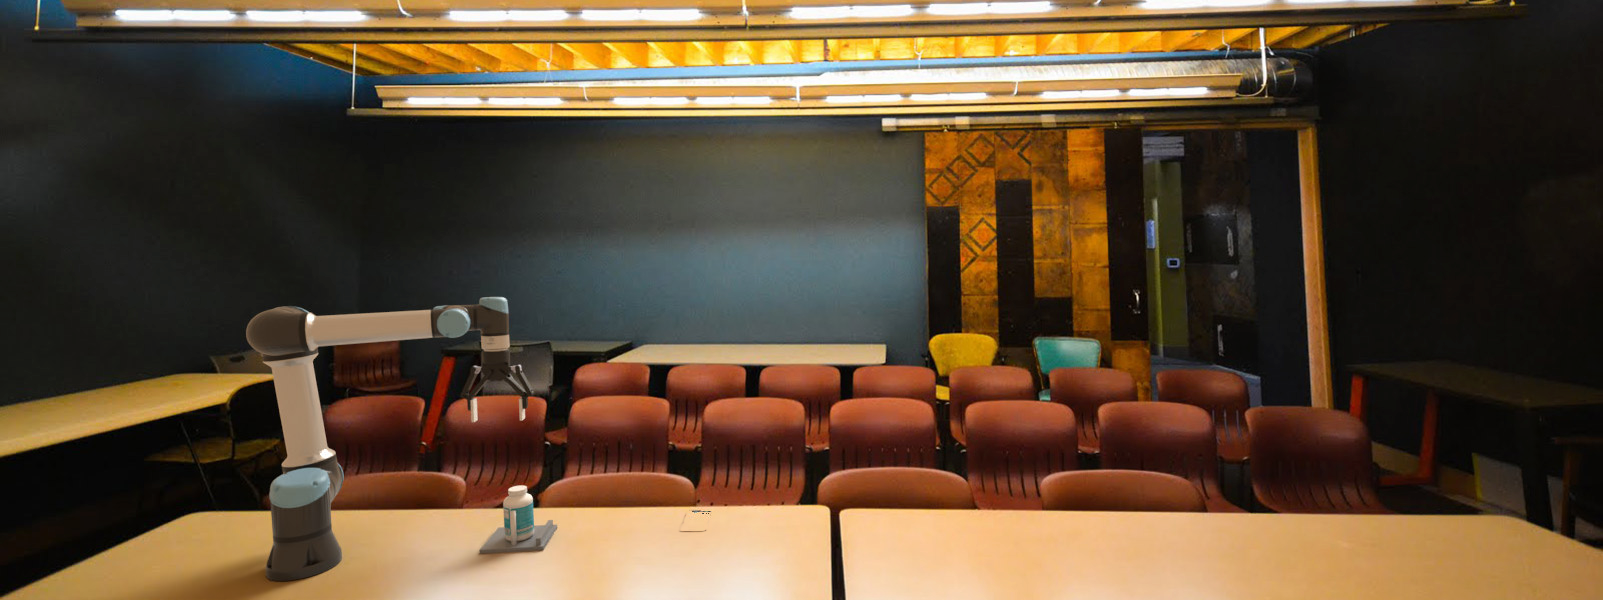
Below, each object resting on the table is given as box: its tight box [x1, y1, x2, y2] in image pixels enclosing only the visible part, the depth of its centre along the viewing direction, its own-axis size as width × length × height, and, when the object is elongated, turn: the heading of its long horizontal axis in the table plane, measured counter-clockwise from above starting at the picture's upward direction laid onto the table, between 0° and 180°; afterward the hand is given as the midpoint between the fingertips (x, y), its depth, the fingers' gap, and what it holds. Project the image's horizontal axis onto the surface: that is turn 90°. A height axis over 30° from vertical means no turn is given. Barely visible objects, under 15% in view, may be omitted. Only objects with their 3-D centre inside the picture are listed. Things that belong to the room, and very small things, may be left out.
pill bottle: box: [502, 485, 535, 541], centre depth 176 cm, size 8×7×14 cm
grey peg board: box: [479, 511, 558, 554], centre depth 176 cm, size 16×14×10 cm
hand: (498, 420), depth 192 cm, fingers open, 13 cm apart
